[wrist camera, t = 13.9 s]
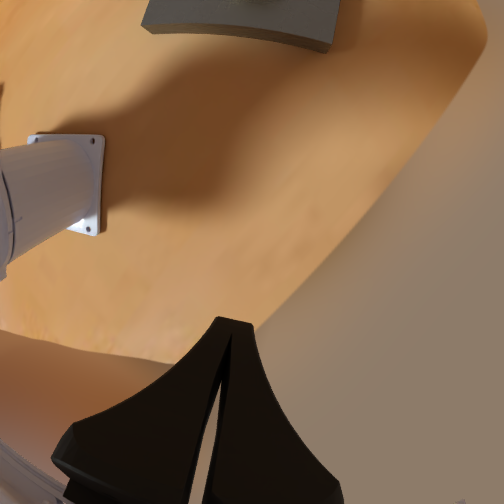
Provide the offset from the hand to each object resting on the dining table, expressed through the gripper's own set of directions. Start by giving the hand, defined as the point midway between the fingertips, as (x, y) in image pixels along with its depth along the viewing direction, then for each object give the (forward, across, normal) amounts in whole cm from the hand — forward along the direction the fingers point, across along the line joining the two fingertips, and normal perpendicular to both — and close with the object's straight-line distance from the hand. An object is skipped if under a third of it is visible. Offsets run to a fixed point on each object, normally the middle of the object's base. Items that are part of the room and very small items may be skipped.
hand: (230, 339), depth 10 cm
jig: (+10, +4, -20) cm, 23 cm away
